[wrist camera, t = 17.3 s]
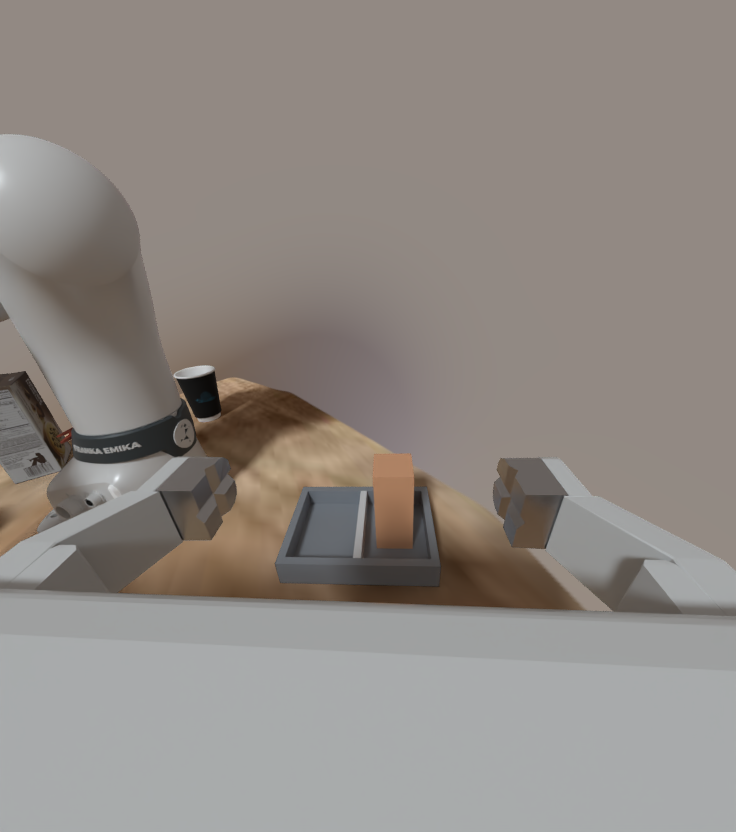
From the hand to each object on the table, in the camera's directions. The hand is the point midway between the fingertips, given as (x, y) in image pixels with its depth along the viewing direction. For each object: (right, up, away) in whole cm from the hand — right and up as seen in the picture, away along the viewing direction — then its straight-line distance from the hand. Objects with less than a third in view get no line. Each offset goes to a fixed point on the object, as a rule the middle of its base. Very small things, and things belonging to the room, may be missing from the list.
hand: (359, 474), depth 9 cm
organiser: (0, -13, +27) cm, 30 cm away
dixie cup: (-36, +1, +60) cm, 70 cm away
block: (+3, -12, +26) cm, 29 cm away
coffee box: (-58, -7, +45) cm, 74 cm away
